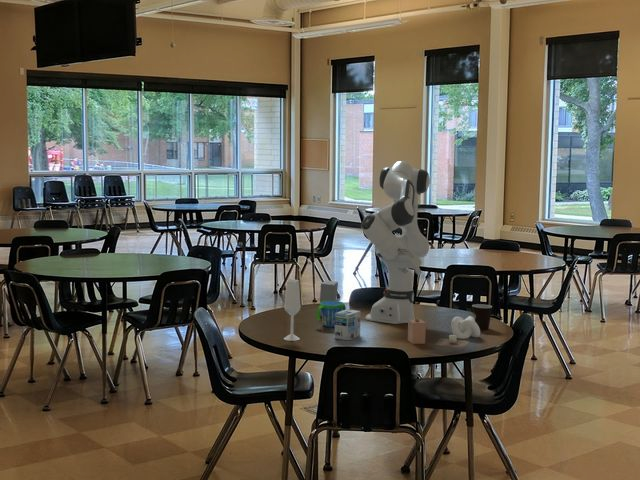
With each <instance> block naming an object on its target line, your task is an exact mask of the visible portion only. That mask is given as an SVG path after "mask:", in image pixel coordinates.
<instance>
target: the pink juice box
mask: <svg viewBox="0 0 640 480" xmlns="http://www.w3.org/2000/svg"><path fill="white" fill-rule="evenodd" d="M407 324H408V325H407V341H408V342H410V344H413V345H417V344H419V345H420V344H426V335H427V333H426V331H427V323H426V322H425V321H424V320H423V319H420V318H417V317H416V318H415V320H408V323H407Z"/></svg>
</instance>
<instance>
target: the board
mask: <svg viewBox="0 0 640 480" xmlns="http://www.w3.org/2000/svg"><path fill="white" fill-rule="evenodd" d="M470 343H471V342H470V340H463V339H462V340H461V339H457V343H456V344H451V343H449V338H440V339H439V340H438V341H437V342H436V343H435V346H443V347H454V348H461V349H462V348H463V349H465V348H467V346H468V345H469V344H470Z"/></svg>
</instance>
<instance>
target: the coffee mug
mask: <svg viewBox="0 0 640 480" xmlns="http://www.w3.org/2000/svg"><path fill="white" fill-rule="evenodd" d="M471 308H472V317H473V318H474V319H475V322H476V323H477V325H478V326H479V328H480V331H488V330H489V329H490V324H491V323H490V321H491V317H492V310H493V305H490V304H481V303H480V304H479V303H477V304H472V305H471Z"/></svg>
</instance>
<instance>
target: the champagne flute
mask: <svg viewBox="0 0 640 480" xmlns="http://www.w3.org/2000/svg"><path fill="white" fill-rule="evenodd" d="M300 292H301V291H300V280H298V279H287V280H286V289H285V296H284V306H283V307H284V311H285V312H286V313H287V314H288V315H290V334H288V335H286V336H285V337H284V338H283V339H284V340H285V341H288V342H289V341H293V342H294V341H299V340H300V339H301V338H300V337H298V336H297V335H296V334H294V323H295V322H294V320H295V319H294V318H295V317H294V316H295V315H297V314H298V313H299V312H300V310H301V306H302V305H301V293H300Z"/></svg>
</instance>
